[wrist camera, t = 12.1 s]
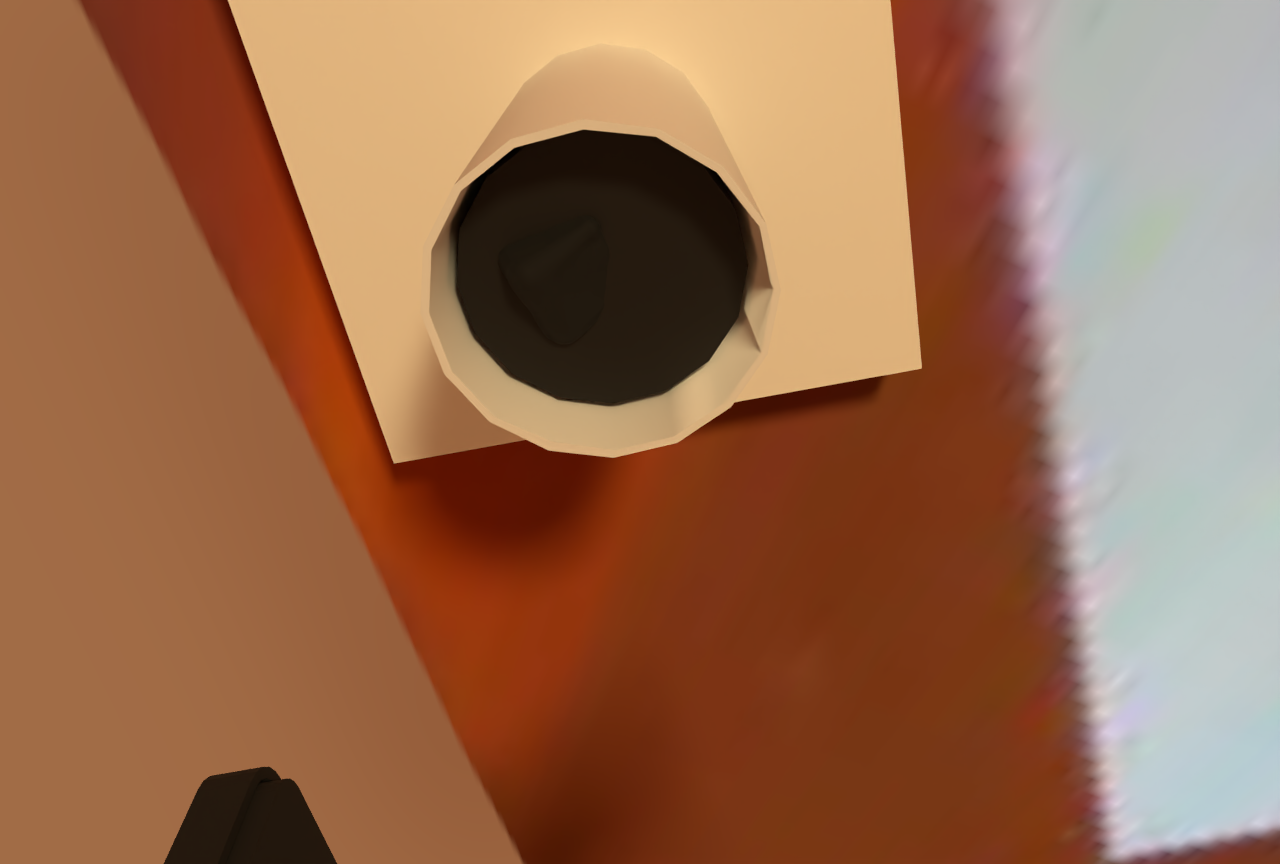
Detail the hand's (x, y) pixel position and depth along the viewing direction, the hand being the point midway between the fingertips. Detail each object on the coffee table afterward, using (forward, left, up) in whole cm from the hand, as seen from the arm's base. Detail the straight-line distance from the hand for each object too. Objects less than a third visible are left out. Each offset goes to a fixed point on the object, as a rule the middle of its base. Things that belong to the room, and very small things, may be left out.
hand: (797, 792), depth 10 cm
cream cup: (+1, +2, -22) cm, 22 cm away
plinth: (+1, +2, -24) cm, 24 cm away
